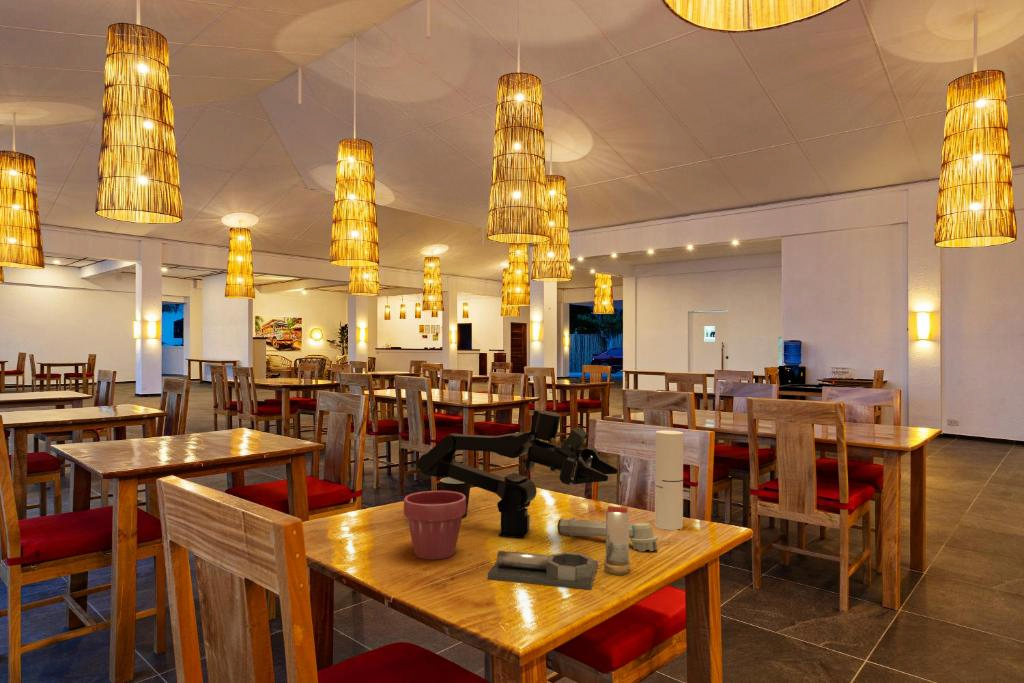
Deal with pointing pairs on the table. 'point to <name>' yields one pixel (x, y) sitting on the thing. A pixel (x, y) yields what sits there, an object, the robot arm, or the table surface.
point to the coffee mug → (456, 488)
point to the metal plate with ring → (545, 569)
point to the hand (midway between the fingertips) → (612, 475)
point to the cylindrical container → (669, 480)
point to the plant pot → (434, 522)
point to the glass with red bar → (617, 541)
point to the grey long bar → (638, 532)
